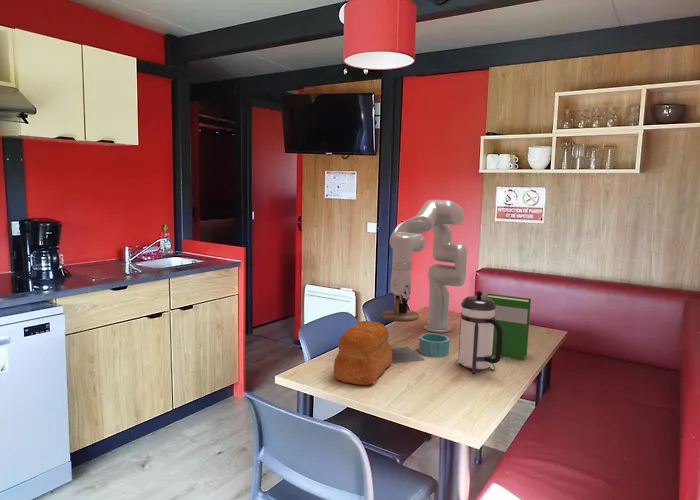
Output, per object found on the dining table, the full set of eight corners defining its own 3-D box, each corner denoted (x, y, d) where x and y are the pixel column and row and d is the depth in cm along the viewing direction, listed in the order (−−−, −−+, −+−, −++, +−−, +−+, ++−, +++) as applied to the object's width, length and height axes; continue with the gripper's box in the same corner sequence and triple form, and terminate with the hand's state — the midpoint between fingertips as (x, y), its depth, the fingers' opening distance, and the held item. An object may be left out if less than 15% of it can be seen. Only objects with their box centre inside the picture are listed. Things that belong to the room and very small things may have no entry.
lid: (375, 312, 197) (376, 295, 196) (409, 310, 202) (409, 294, 201) (390, 323, 183) (390, 305, 182) (425, 320, 188) (426, 302, 187)
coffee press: (450, 372, 179) (455, 293, 175) (458, 358, 194) (462, 285, 190) (499, 380, 172) (505, 298, 168) (503, 365, 187) (508, 289, 183)
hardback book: (526, 355, 200) (530, 298, 196) (523, 360, 193) (528, 302, 190) (483, 347, 208) (487, 293, 205) (479, 352, 201) (483, 296, 198)
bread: (329, 381, 168) (329, 333, 166) (357, 356, 192) (357, 314, 189) (371, 388, 162) (372, 339, 160) (395, 362, 186) (395, 318, 183)
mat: (372, 351, 199) (372, 350, 199) (407, 348, 204) (407, 346, 204) (387, 365, 184) (387, 363, 184) (425, 361, 189) (425, 360, 189)
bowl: (414, 349, 203) (414, 334, 202) (439, 347, 207) (440, 332, 206) (427, 359, 192) (428, 343, 191) (454, 356, 195) (454, 341, 195)
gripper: (384, 263, 196) (383, 306, 199) (401, 270, 180) (400, 317, 183) (401, 262, 198) (400, 305, 201) (420, 269, 183) (418, 316, 185)
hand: (400, 310), depth 192 cm, fingers closed on lid, 4 cm apart
